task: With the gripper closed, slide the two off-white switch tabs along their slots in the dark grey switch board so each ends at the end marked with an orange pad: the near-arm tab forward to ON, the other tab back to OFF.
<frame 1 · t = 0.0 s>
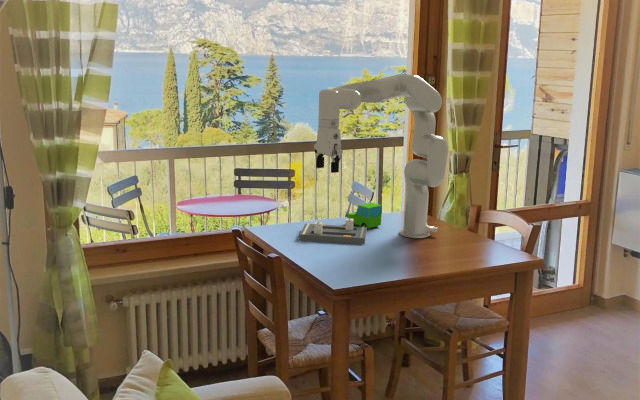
hand: (327, 170, 235), 31 cm above the table, tool pointing down, fingers open, 9 cm apart
switch board: (333, 236, 261), on the table
tab A: (349, 225, 263), point 4 cm above the table, slide at 0.0 cm
toy car: (363, 226, 278), on the table
tab B: (318, 229, 257), point 4 cm above the table, slide at 12.0 cm
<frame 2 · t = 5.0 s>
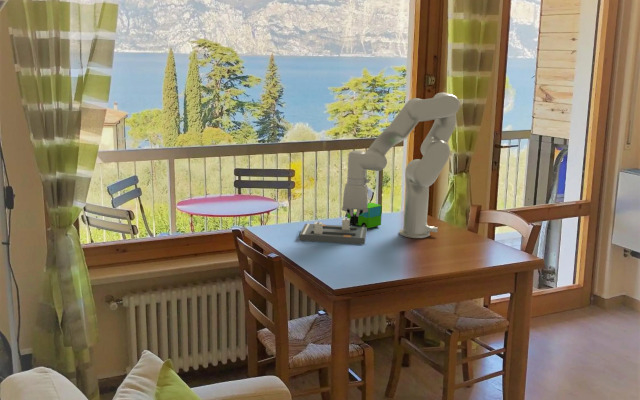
hand: (354, 224, 263), 4 cm above the table, tool pointing down, fingers closed
tab A: (345, 225, 263), point 4 cm above the table, slide at 1.5 cm, touching gripper
everything else where it was.
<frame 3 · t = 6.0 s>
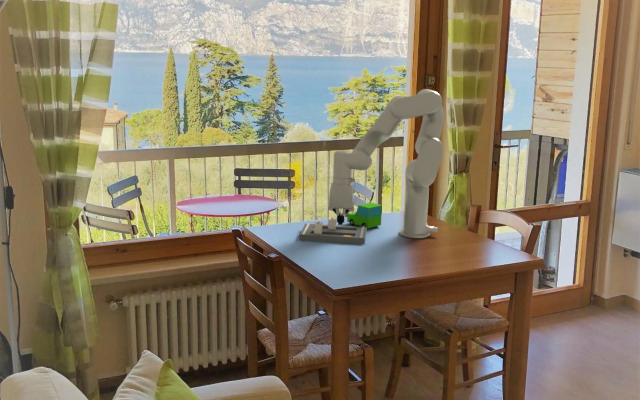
hand: (340, 224, 263), 4 cm above the table, tool pointing down, fingers closed
tab A: (332, 224, 264), point 4 cm above the table, slide at 7.2 cm, touching gripper
everything else where it was.
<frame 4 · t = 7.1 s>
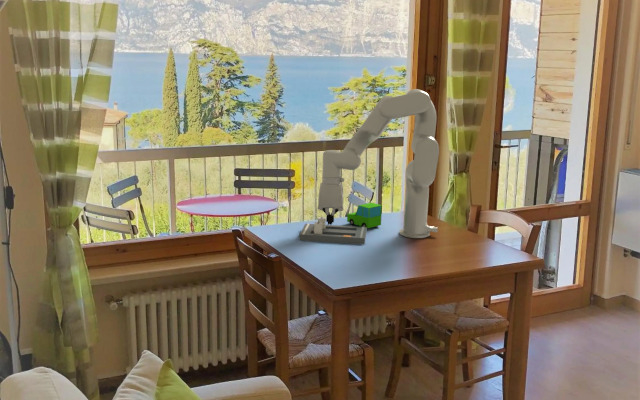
hand: (330, 223, 264), 4 cm above the table, tool pointing down, fingers closed
tab A: (321, 223, 264), point 4 cm above the table, slide at 11.6 cm, touching gripper
everything else where it was.
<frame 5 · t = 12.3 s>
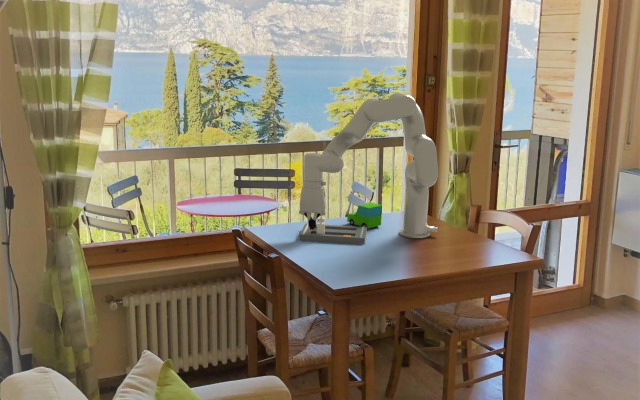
hand: (312, 228, 257), 4 cm above the table, tool pointing down, fingers closed
tab A: (321, 223, 264), point 4 cm above the table, slide at 11.9 cm
tab B: (320, 229, 257), point 4 cm above the table, slide at 11.0 cm, touching gripper
everything else where it was.
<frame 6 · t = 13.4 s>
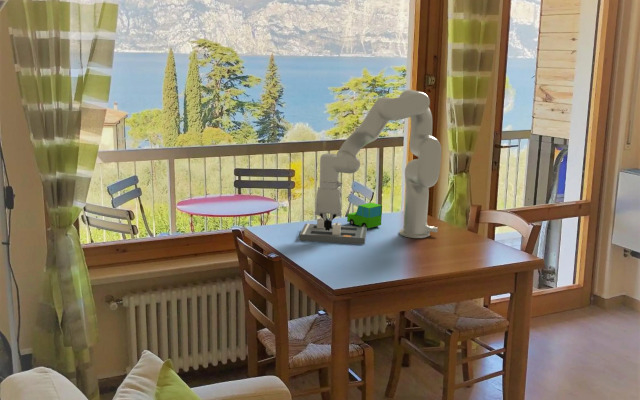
hand: (327, 229, 256), 4 cm above the table, tool pointing down, fingers closed
tab B: (336, 230, 256), point 4 cm above the table, slide at 4.6 cm, touching gripper
everything else where it was.
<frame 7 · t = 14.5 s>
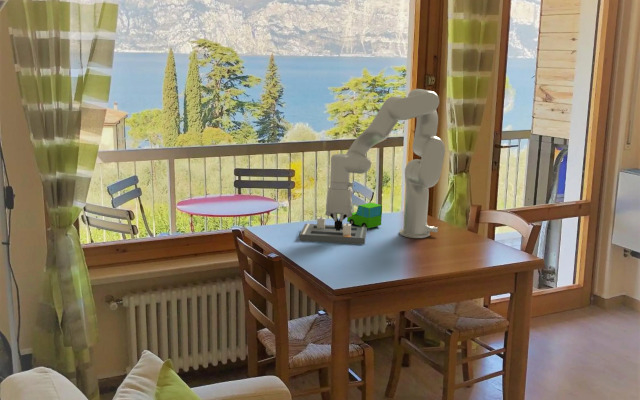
hand: (338, 229, 256), 4 cm above the table, tool pointing down, fingers closed
tab B: (347, 230, 255), point 4 cm above the table, slide at 0.4 cm, touching gripper
everything else where it was.
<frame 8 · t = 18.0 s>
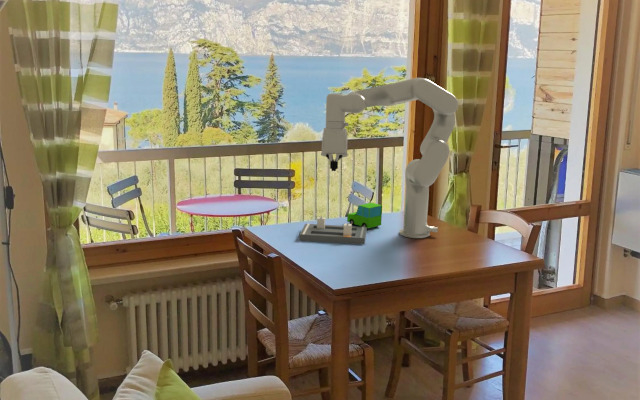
hand: (333, 170, 257), 27 cm above the table, tool pointing down, fingers closed
tab B: (347, 230, 255), point 4 cm above the table, slide at 0.2 cm
everything else where it was.
at the end: tab A slide at 11.9 cm; tab B slide at 0.2 cm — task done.
